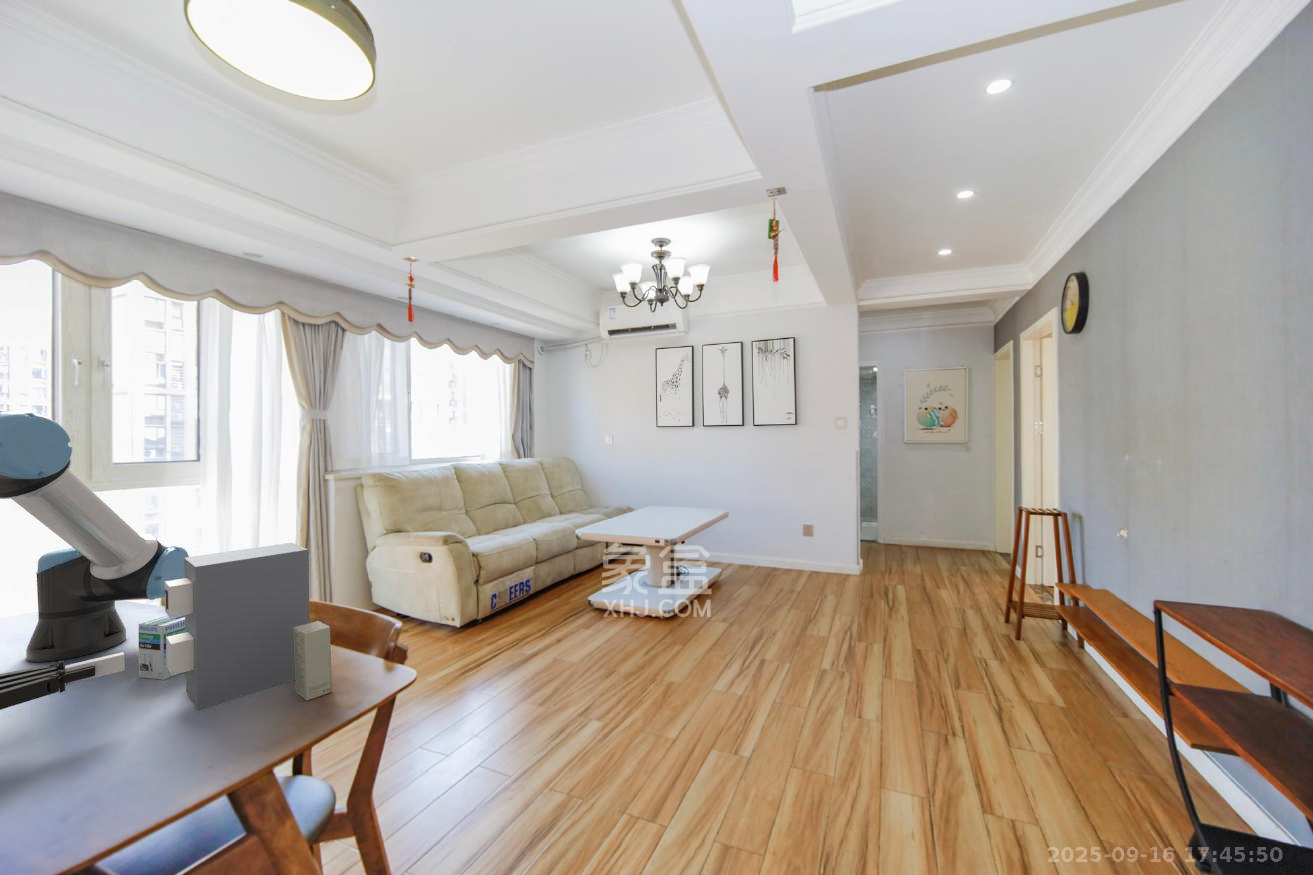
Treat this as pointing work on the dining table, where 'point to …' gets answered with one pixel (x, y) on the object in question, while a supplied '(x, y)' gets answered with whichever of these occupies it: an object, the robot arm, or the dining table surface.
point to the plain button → (180, 653)
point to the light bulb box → (157, 645)
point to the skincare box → (312, 659)
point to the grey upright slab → (245, 620)
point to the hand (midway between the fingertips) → (123, 661)
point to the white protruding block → (179, 597)
